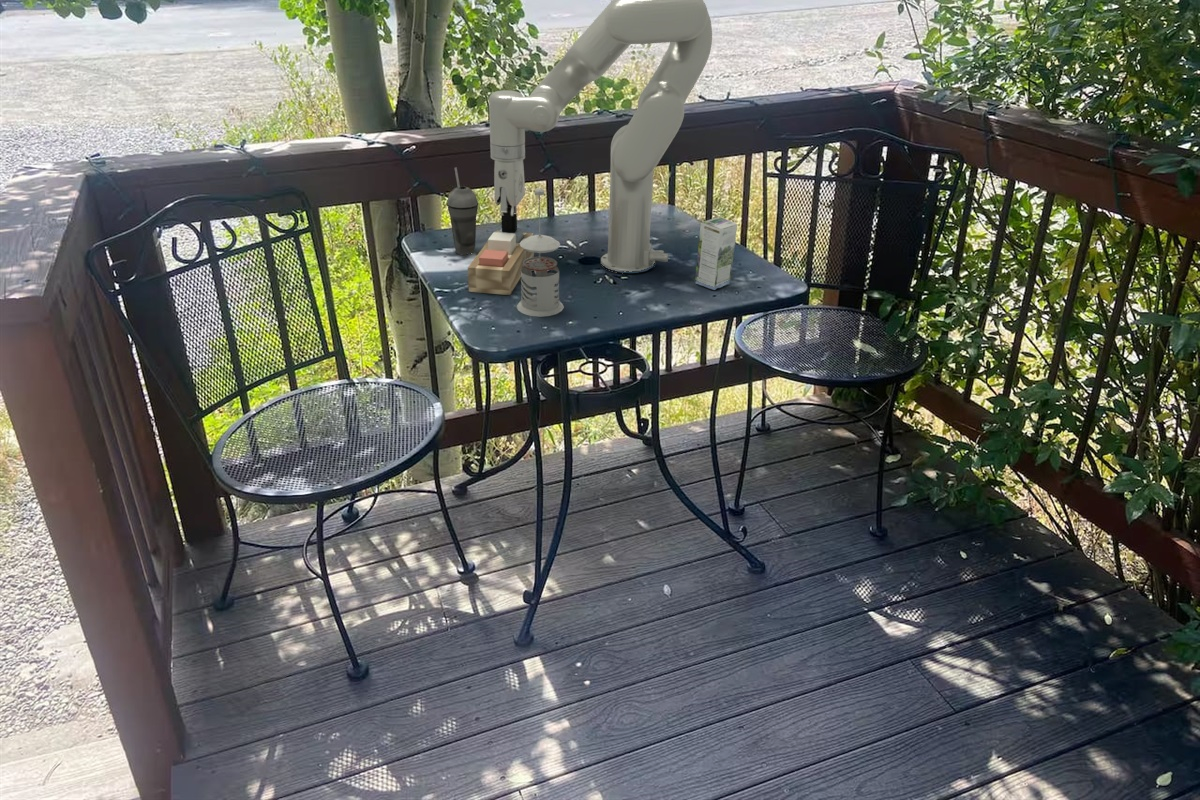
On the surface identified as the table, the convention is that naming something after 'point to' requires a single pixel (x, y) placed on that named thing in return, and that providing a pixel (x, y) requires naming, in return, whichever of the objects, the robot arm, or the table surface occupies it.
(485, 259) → the red key
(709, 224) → the syrup box
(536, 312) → the french press
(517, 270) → the key box
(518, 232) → the blue key
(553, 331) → the table surface
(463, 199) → the beverage cup
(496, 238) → the white key
